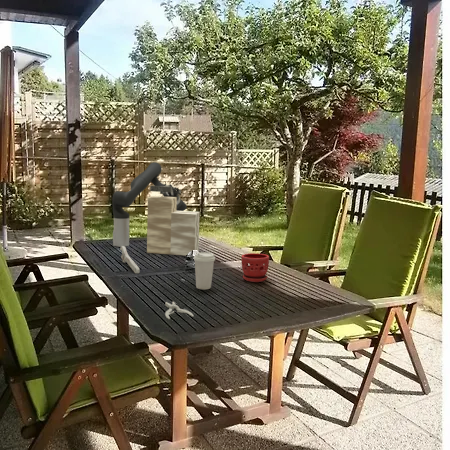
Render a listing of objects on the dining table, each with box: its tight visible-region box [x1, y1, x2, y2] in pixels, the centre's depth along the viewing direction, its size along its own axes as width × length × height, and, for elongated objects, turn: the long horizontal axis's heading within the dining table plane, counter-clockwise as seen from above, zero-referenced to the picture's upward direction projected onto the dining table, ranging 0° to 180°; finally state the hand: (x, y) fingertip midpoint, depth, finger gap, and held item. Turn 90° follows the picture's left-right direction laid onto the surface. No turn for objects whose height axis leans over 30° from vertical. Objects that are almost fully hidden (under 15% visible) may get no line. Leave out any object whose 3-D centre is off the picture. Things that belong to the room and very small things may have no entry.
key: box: [149, 184, 172, 193], centre depth 275 cm, size 20×12×3 cm, turn 172°
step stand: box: [146, 195, 201, 256], centre depth 272 cm, size 12×28×32 cm, turn 82°
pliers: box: [164, 301, 194, 320], centre depth 176 cm, size 10×2×15 cm
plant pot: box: [240, 252, 270, 283], centre depth 222 cm, size 13×13×12 cm
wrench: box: [119, 246, 141, 274], centre depth 238 cm, size 8×2×30 cm
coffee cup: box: [193, 252, 216, 290], centre depth 206 cm, size 10×10×15 cm
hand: (167, 185), depth 279 cm, fingers closed on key, 2 cm apart
